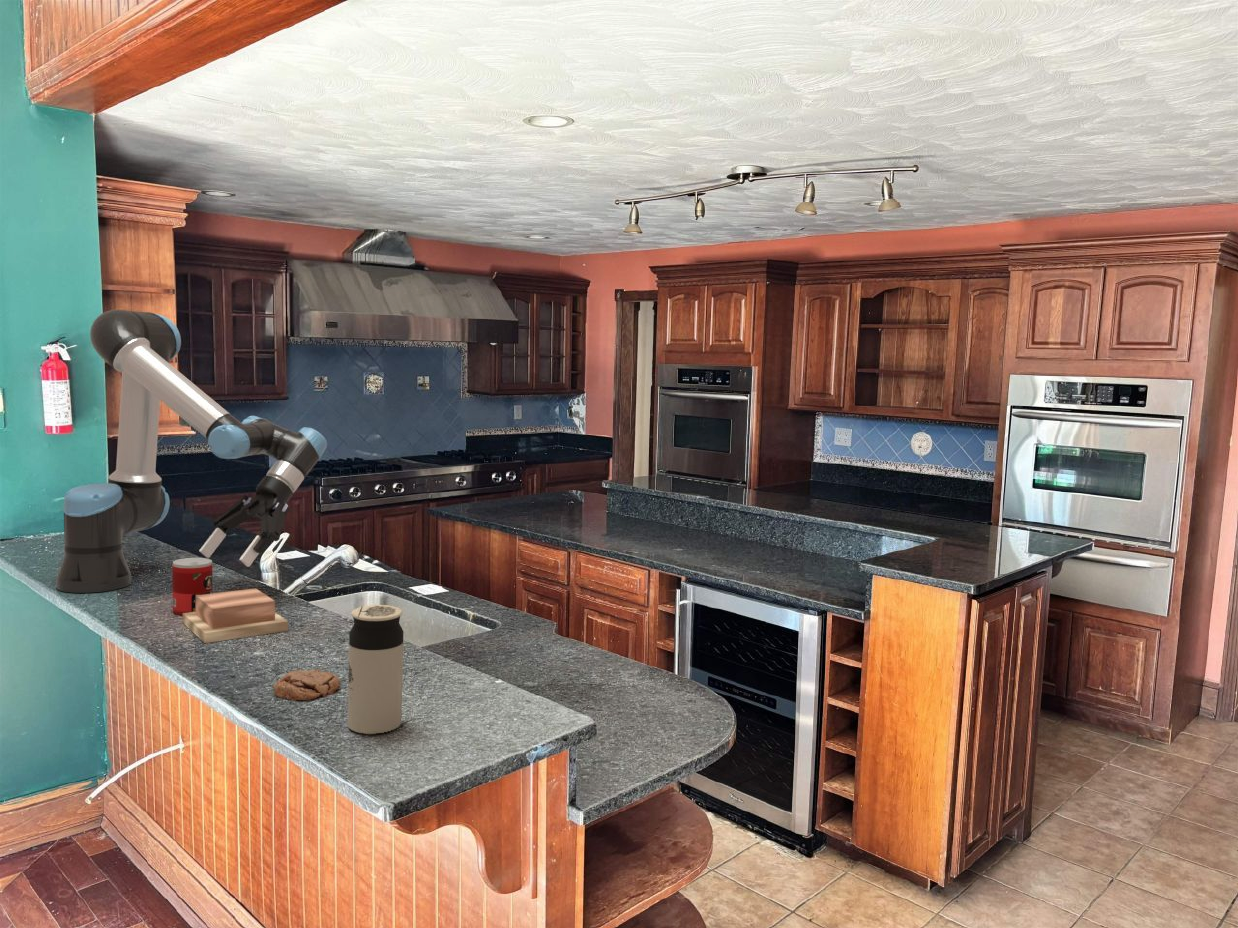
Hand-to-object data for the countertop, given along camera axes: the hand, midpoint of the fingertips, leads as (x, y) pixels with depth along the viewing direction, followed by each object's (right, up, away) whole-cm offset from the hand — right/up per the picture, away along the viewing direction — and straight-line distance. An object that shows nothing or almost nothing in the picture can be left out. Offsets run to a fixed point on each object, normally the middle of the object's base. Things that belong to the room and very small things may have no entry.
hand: (223, 558), depth 196 cm
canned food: (-5, -11, -4) cm, 13 cm away
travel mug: (+50, -20, -59) cm, 80 cm away
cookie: (+34, -18, -46) cm, 60 cm away
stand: (+8, -13, -14) cm, 20 cm away
